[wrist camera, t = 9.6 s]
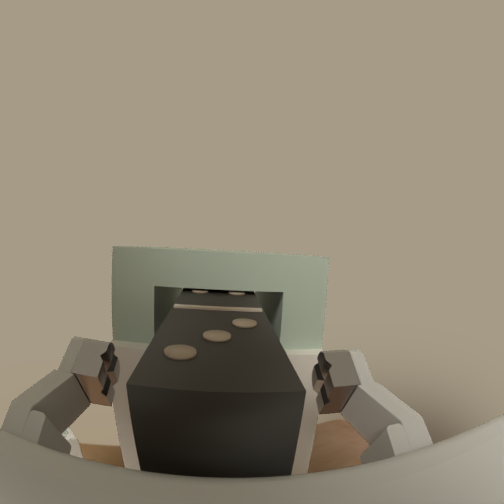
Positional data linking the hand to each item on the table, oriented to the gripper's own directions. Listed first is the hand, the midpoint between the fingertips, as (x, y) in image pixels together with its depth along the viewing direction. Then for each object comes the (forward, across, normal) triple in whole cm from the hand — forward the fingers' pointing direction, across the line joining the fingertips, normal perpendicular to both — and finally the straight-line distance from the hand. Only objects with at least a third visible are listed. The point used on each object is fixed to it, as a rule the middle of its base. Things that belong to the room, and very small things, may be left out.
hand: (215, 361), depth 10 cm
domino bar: (+2, 0, +3) cm, 4 cm away
